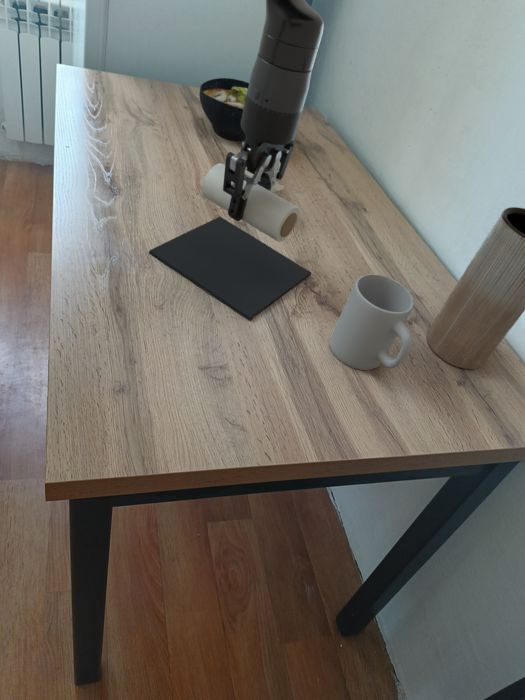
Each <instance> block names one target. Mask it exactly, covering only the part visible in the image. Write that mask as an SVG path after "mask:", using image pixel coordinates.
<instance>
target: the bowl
mask: <svg viewBox="0 0 525 700" xmlns="http://www.w3.org/2000/svg"><path fill="white" fill-rule="evenodd" d="M248 87H249V82H247V81H244V80H241V79H236V78H230V77H229V78H227V77H218V78H212V79H209V80H206V81H204V82H203V83H202V84H201V85H200V87H199V95H198V96H199V101H200V105H201V108H202V111H203V112H204V115H205V116H206V118H207V120H208V121H209V122H210V123H211V127H212V131H213V132H214V133H215V134H216V135H217V136H219V137H220V138H224V139H226V140H229V141H235V142H244V141H245V139H246V135H245V133H244V131H243V129H242V127H241V119H242V114H243V110H244V105H245V100H246V96H247V91H248Z"/></svg>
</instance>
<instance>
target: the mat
mask: <svg viewBox="0 0 525 700" xmlns="http://www.w3.org/2000/svg"><path fill="white" fill-rule="evenodd" d="M148 254H149V255H150V256H152V257H154V258H155V259H156V260H158V261H160V262H161V263H162V264H164V265H166V266H167V267H169V268H170V269H171V270H173V271H174V272H176V273H177V274H179V275H181V276H182V277H184V278H185V279H187V280H188V281H189V282H191V283H192V284H194V285H195V286H197V287H198V288H200V289H201V290H203V291H204V292H206V293H208V294H209V295H210V296H212V297H214V298H215V299H217V300H218V301H219V302H220V303H222V304H223V305H225V306H227V307H228V308H230V309H231V310H233V311H234V312H235V313H237V314H239V315H240V316H242V317H243V318H245V319H246V320H248V321H251V320H253V319H254V318H255V317H257V316H258V315H259V314H261V313H262V312H263V311H265V310H266V309H267V308H269V307H270V306H272V305H273V304H274V303H275V302H277V301H278V300H280V299H281V298H282V297H284V295H286V294H287V293H289V292H290V291H291V290H292V289H294V288H295V287H296V286H298V285H300V284H301V283H303V282H304V281H305V280H306V279H308V277H310V276H311V275H312V272H311V271H310V270H308V269H306V268H305V267H304V266H302V265H301V264H298V263H297V262H295V261H293V259H290V258H289V257H287V256H285V255H284V254H282V253H281V252H279V251H278V250H275V249H274V248H272V247H271V246H269V245H268V244H266V243H264V242H262V241H261V240H260V239H258V238H256V237H255V236H253V235H251V234H250V233H248V232H246V230H245V231H244V229H241V228H240V227H238V226H236V225H235V224H234V223H232V222H230V221H228V220H227V219H225V218H224V217H222V216H218V217H216V218H213V219H211V220H209V221H207V222H205V223H203V224H201V225H199V226H197V227H195V228H193V229H191V230H189V231H187V232H184V233H183V234H181V235H178V236H176V237H174V238H172V239H170V240H168V241H165V242H164V243H162V244H160V245H157V246H156V247H153V248H151V249H149V251H148Z"/></svg>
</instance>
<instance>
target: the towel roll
mask: <svg viewBox="0 0 525 700" xmlns="http://www.w3.org/2000/svg"><path fill="white" fill-rule="evenodd" d="M224 173H225V163H221V162H220V163H216V164H215V165H213V166H212V167H211V168H210V169H209V170H208V172H207V173H206V175H205V177H204V179H203V182H202V185H201V192H202V196H203V197H204V198H205V199H207V200H209V201H210V202H212V203H213V204H215V205H217V206H218V207H220V208H222V209H223V210H225V211H227V212H228V209H229V206H230V200H231V195H229V194H228V193H226V192H224V191H223V183H224ZM232 183H233V182H231V185H232ZM245 185H246V181H245V180H244V182H243V189H244V187H245ZM300 212H301V211H300V208H299V207H298V206H297V205H295V204H294V203H291V202H290V201H288V200H286V199H285V198H283V197H281V196H279V195H278V194H277V195H276V194H274V193H272V192H271V191H269V190H267V189H265V188H264V187H262V186H260V185H258V184H257V185H253V186H252V188H251V191H250V193H249V195H248V197H247V202H246V206H245V210H244V214H243V218H242V219H241V221H243V222H245V223H247V224H248V225H249V226H251V227H253V228H254V229H257V230H258V231H259V232H261V233H262V234H265V235H267V236H268V237H269V238H271V239H273V240H275V241H276V242H278V243H282V242H283V241H285V240H287V238H288V237H289V236H290V235H291V234H292V232H293V231H294V230H295V227H296V225H297V223H298V221H299V218H300Z"/></svg>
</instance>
